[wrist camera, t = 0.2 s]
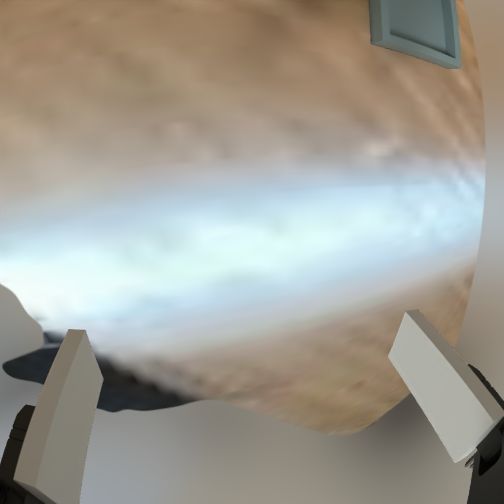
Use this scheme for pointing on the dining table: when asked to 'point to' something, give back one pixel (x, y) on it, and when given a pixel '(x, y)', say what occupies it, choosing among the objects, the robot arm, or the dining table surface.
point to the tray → (418, 29)
